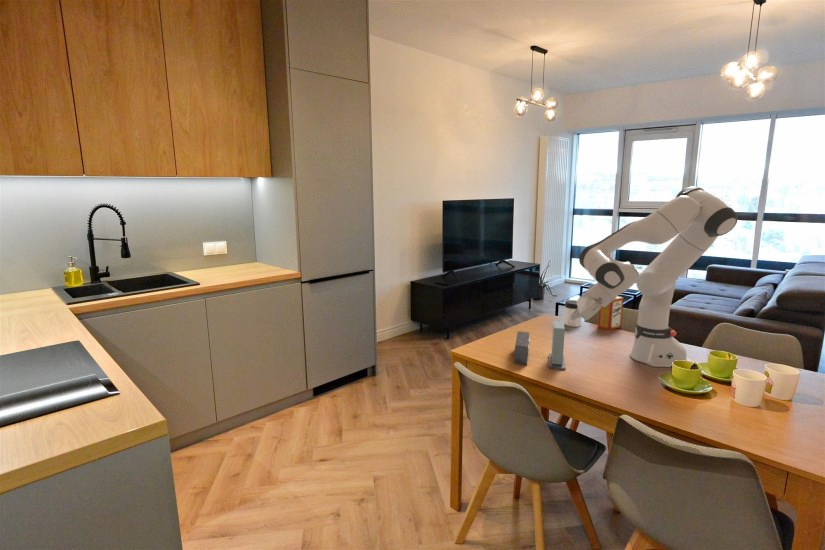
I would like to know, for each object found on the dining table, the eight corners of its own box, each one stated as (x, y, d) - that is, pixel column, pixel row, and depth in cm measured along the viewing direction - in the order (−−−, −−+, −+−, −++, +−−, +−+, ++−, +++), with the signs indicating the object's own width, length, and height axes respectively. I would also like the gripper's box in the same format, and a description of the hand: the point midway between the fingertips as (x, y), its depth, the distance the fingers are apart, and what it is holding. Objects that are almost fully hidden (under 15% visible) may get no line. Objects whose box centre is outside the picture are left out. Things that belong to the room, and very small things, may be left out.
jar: (575, 328, 223) (577, 305, 221) (560, 324, 229) (561, 302, 226) (583, 324, 229) (585, 301, 227) (568, 320, 235) (570, 299, 233)
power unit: (529, 349, 194) (530, 332, 193) (527, 365, 177) (528, 346, 176) (516, 348, 196) (517, 331, 194) (514, 364, 179) (515, 345, 177)
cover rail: (563, 357, 186) (563, 354, 185) (565, 370, 172) (565, 367, 172) (548, 355, 187) (548, 353, 187) (549, 368, 174) (549, 366, 174)
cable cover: (561, 356, 184) (563, 321, 181) (562, 364, 175) (564, 328, 172) (551, 355, 185) (553, 320, 182) (551, 363, 176) (553, 327, 173)
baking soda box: (609, 324, 229) (611, 294, 226) (621, 327, 224) (623, 296, 221) (597, 327, 224) (600, 296, 221) (609, 330, 219) (612, 299, 216)
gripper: (609, 309, 160) (578, 332, 164) (602, 295, 179) (575, 317, 184) (596, 296, 160) (566, 320, 165) (591, 284, 179) (564, 306, 184)
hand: (571, 318), depth 174 cm, fingers closed
